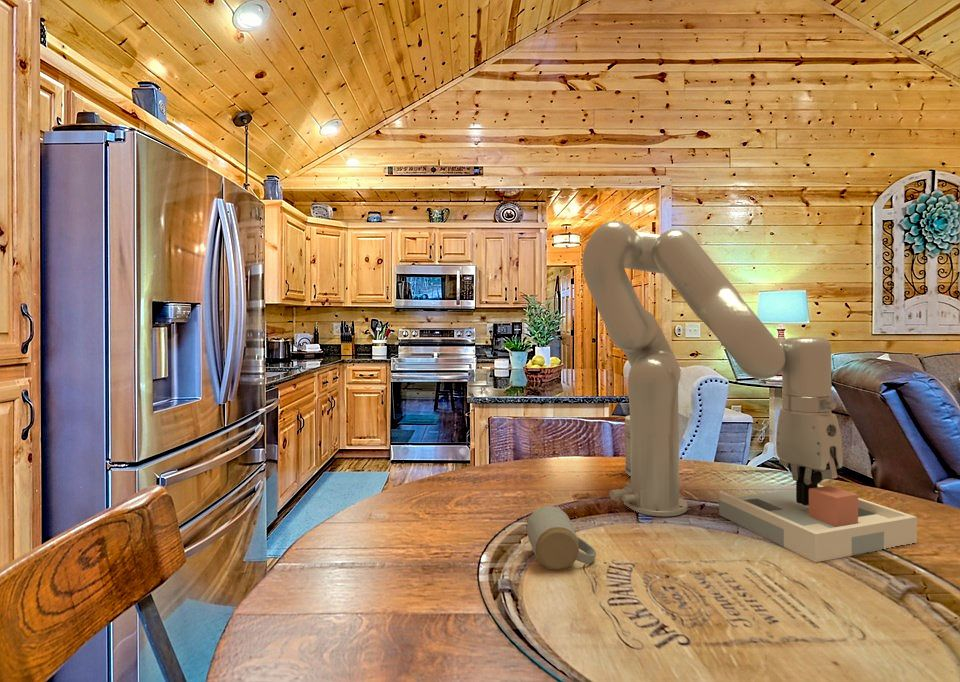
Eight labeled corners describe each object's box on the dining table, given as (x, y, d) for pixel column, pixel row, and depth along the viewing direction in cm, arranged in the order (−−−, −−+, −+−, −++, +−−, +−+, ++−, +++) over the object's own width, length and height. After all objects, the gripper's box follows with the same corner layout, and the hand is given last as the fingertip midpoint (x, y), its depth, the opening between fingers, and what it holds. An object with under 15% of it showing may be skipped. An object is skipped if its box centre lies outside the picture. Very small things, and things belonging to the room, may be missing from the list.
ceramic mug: (535, 574, 75) (535, 525, 75) (526, 550, 83) (526, 505, 83) (603, 572, 76) (603, 523, 76) (587, 548, 84) (587, 503, 84)
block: (836, 527, 83) (836, 497, 83) (808, 516, 88) (808, 488, 88) (858, 523, 84) (858, 494, 84) (829, 512, 89) (829, 485, 89)
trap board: (815, 562, 77) (815, 534, 77) (719, 514, 97) (718, 492, 97) (916, 543, 83) (917, 516, 83) (806, 501, 103) (806, 480, 103)
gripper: (863, 409, 84) (863, 515, 85) (786, 397, 98) (787, 488, 99) (829, 412, 82) (830, 521, 82) (756, 400, 96) (757, 492, 97)
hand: (806, 503), depth 91 cm, fingers closed
